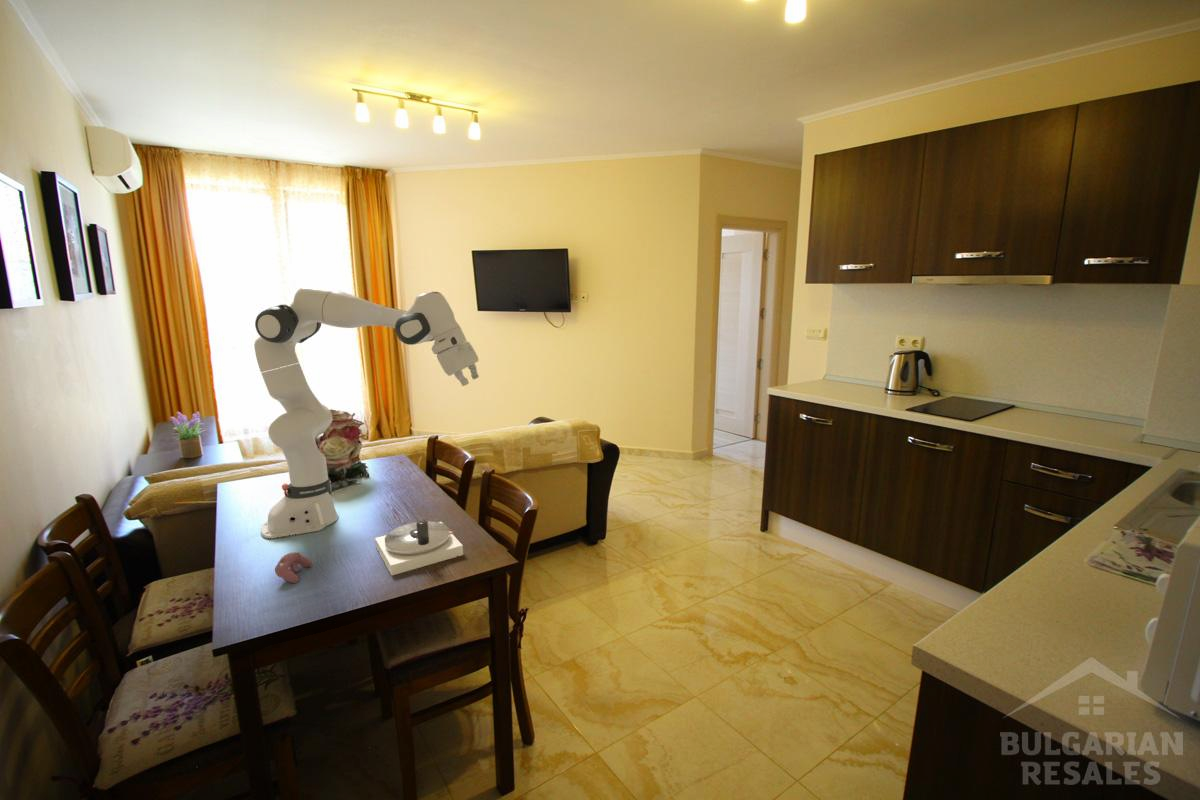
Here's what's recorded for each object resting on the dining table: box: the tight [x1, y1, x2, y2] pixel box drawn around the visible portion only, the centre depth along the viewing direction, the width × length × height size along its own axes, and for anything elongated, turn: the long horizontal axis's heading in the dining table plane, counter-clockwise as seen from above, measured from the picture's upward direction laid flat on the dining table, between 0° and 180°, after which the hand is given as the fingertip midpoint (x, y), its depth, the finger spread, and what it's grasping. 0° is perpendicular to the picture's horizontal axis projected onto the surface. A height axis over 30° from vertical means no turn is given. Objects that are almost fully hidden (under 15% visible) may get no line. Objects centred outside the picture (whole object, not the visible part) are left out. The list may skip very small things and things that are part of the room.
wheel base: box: [374, 521, 464, 576], centre depth 157 cm, size 20×20×3 cm
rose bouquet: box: [315, 408, 371, 493], centre depth 214 cm, size 26×29×30 cm
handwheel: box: [385, 520, 450, 556], centre depth 156 cm, size 18×18×8 cm
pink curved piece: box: [274, 551, 313, 584], centre depth 145 cm, size 10×5×7 cm, turn 5°
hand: (471, 381), depth 167 cm, fingers open, 8 cm apart
